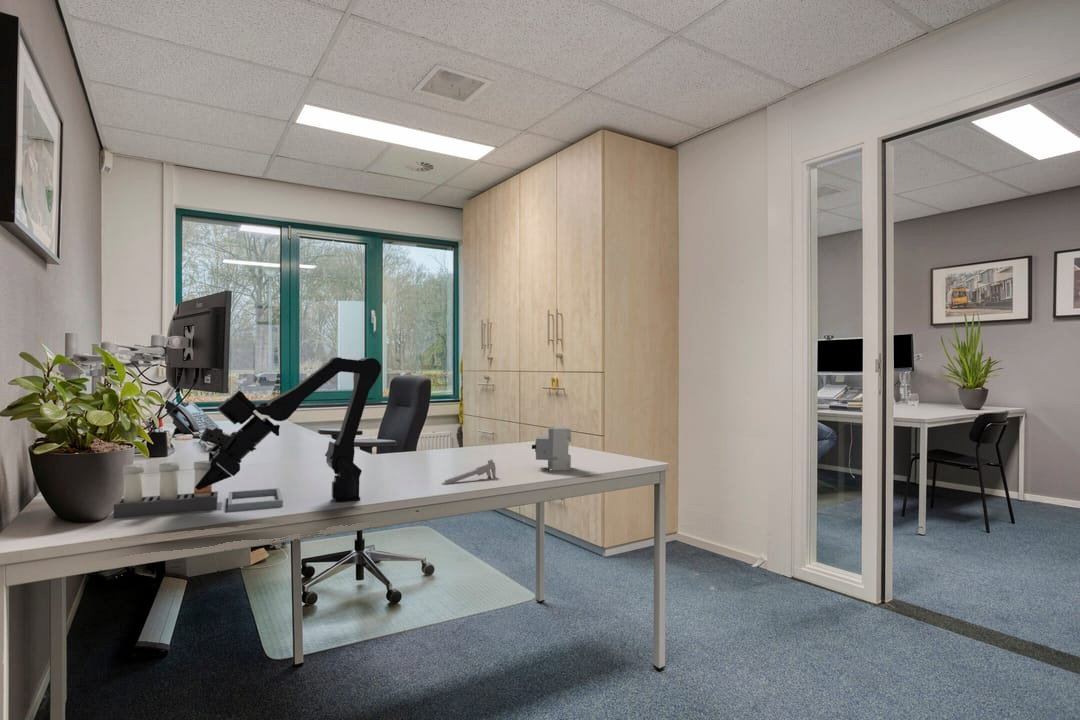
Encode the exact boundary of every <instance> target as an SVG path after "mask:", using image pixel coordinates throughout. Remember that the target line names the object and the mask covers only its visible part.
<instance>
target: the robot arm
mask: <svg viewBox="0 0 1080 720" xmlns="http://www.w3.org/2000/svg"><path fill="white" fill-rule="evenodd" d="M341 372H343V373H352V374H353V389H352V392H351V395H350V398H349V402H348V405H347V409H346V412H345V415H344V419H343V422H342V425H341V428H340V431H339V434H338V436H337V438H336V439H335V441H334V442H333V441H329V442H328V445H327V446H328V447H327V451H326V452H325V453H324V456H325V457H326V458H325V461H326V463H327V466H328V467H329V468H331V470H333V473H334V474H335V475H334V476H333V481H331V497H332V499H333V500H334V501H335V502H349V501H359V500H361V496H360V478H361V477H360V476H361V474H362V469H361V468H360V467H359V466H357V465H356V464H355V463H354V459H355V453H356V452H355V439H356V437H357V433H358V429H359V427H360V423H361V420H362V416H363V413H364V410H365V406H366V404H367V400H368V396H369V393H370V392H371V389H372V388H373V387H374V385H375V384H376V382H377V381H378V378H379V376H380V374H381V372H382V365H381V363H380V361H379V360H378V359H377V358H374V357H361V358H360V359H350V358H342V357H338V356H336V357H331V358H330V359H329V360H328V361H327V362H326V363H325V364H323V365H322V366H321V367H319V368H318V369H317V370H315V371H314V372H313V373H311V374H310V375H309V376H307V377H306V378H305V379H304V380H302V381H301V382H300V383H298V384H297V385H296V386H294V387H293V388H292V389H288V390H287V391H284V392H282V393H280V394H278V395H276V396H274V397H273V398H271V399H270V400H268V401H267V402H264V403H257V404H256V403H255V404H254V402H252V401H251V400H250V399H249V398H248V397H247V396H246V395H245V394H244V392H242V391H241V390H237V392H235V393H233V395H231V396H230V397H227V398H226V399H225V400H224V401H222V403H221V404H219V406H218V407H217V408H216V410H217V411H218V412H219V413H221V414H222V415H223V416H224V417H225V418H226V419H227V420H229V421H230V422H231V423H232V424H233V425H236V424H239V425H242V424H243V426H242V427H241V428H240V429H238V430H237V431H233V432H232V433H230V434H229V433H225V432H224V431H223V429H222V428H218V427H217V426H216V427H214V428H213V427H210V426H206V427H205V429H204V430H203V432H202V434H201V435H200V441H202V442H204V443H210V444H213V445H212V446H211V447H210V450H209V451H208V460H207V461H211V465H210V469H209V470H208V471H207V472H206V474H205V475H204V476H203V477H202V479H201V480H200V481H199V482H198V484H197V485H196V486H195V488H196V489H198V490H200V489H202V488H205V487H207V486H209V485H214V484H216V483H219V482H221V481H223V480H226V479H229V478H232V476H233V477H235V476H236V475H237V474H238V473H239V472H240V471H241V464H240V463H242V459H244V458H245V457H246V456H247V455H248V454H249V453H250V452H253V451H254V450H255V449H256V447H257V446H258V444H260V443H261V442H262V441H263V440H264V439H265V438H266V437H267V436H268V435H269V434H270V433H273V434H274V435H275V436H276V437H279V436H280V428H281V425H279V424H274V423H273V422H272V421H271V420H273V421H276V422H284V421H286V420H288V419H289V418H290V417H291V416H292V415H293V414H294V413H295V412H296V411H297V409H298V408H299V407H300V405H301V404H302V403H303V402H304V401H305V399H307V398H308V397H309V396H310V395H312V394H313V393H315V392H316V391H317V390H318V389H320V388H321V387H322V386H323V385H325V384H326V383H327V382H329V381H330V380H331V379H332V378H334V377H335V376H336V375H337V374H339V373H341ZM254 411H256V412H257V413H258V414H260V415H262V416H268V417H269V418H267V417H264V418H263V419H261V417H260V416H258V415H257V414H256V413H255V412H254ZM251 417H252V418H251ZM269 419H271V420H269ZM245 422H246V423H245ZM244 423H245V424H244Z"/></svg>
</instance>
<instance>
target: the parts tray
mask: <svg viewBox="0 0 1080 720" xmlns="http://www.w3.org/2000/svg"><path fill="white" fill-rule="evenodd" d="M262 496H263V497H265V496H276V499H271V500H259V501H248V502H236V503H233V499H235V498H237V499H238V498H250V497H251V498H252V497H262ZM283 499H284V498H283V496H282V492H281V489H280V487H275V488H274V487H273V488H263V489H260V488H259V489H248V490H236V491H234V490H233V491H229V492H228V497H227V511H228V512H233V511H244V510H245V511H246V510H256V509H257V510H258V509H267V508H277V507H279V508H280V507H284V500H283Z"/></svg>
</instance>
